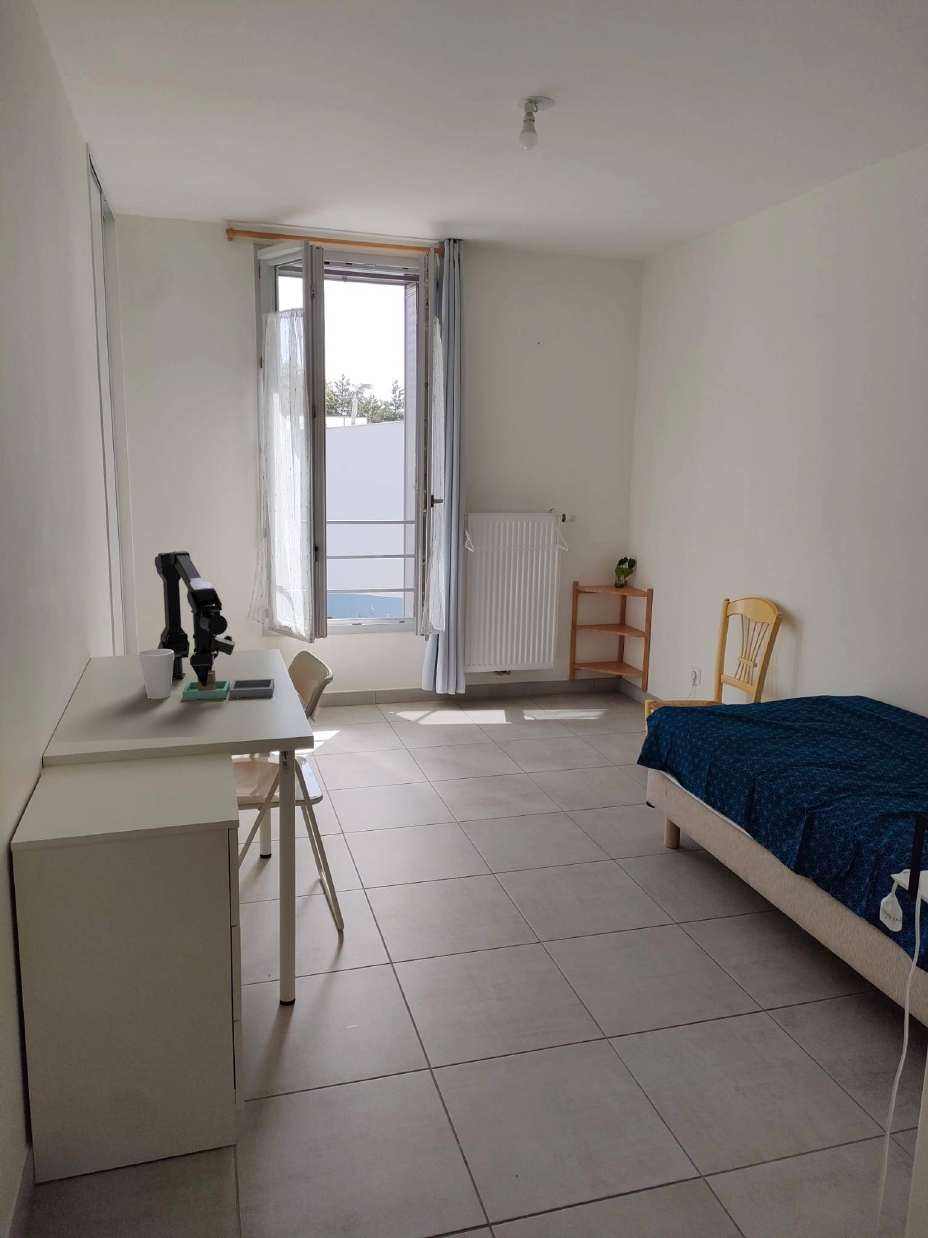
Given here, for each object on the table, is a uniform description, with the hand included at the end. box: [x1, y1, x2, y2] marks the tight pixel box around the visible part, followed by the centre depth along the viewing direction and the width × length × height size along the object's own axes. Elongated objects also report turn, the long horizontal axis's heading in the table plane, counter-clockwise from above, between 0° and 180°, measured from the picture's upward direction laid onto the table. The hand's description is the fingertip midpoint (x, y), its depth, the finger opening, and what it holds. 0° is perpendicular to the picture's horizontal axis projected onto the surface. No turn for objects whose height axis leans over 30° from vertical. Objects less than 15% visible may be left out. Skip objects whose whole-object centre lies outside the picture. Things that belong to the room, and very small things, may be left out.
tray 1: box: [182, 680, 231, 701], centre depth 257 cm, size 12×12×2 cm
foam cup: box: [138, 648, 174, 700], centre depth 254 cm, size 10×9×13 cm
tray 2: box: [229, 678, 275, 699], centre depth 259 cm, size 12×12×2 cm
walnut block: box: [196, 669, 217, 691], centre depth 256 cm, size 4×4×6 cm
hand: (206, 682), depth 256 cm, fingers open, 9 cm apart
